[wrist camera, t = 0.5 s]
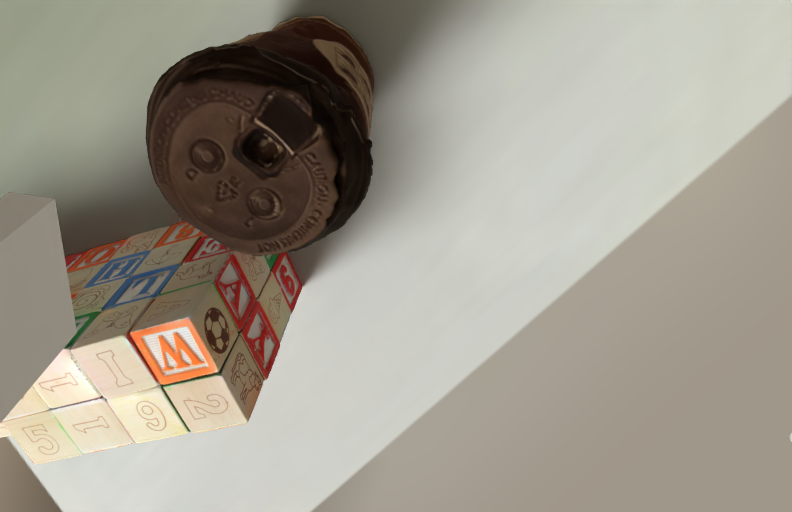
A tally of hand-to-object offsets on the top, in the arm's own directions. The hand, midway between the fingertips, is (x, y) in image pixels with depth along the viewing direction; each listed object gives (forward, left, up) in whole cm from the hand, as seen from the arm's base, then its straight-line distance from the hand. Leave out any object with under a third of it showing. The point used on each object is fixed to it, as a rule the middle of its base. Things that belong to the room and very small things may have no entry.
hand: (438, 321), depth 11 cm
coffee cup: (0, -8, -25) cm, 26 cm away
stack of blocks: (+9, -24, -26) cm, 36 cm away
